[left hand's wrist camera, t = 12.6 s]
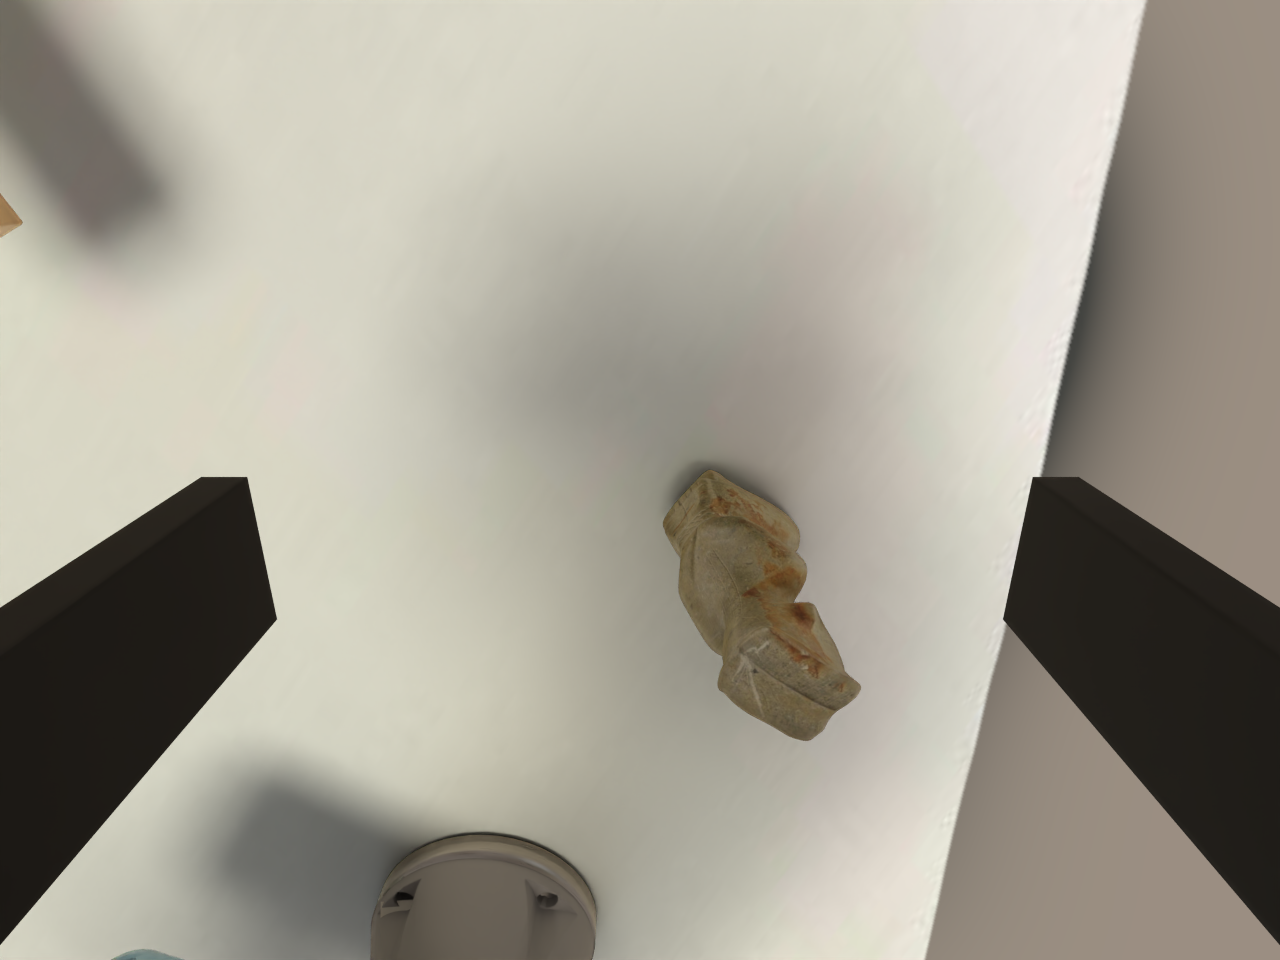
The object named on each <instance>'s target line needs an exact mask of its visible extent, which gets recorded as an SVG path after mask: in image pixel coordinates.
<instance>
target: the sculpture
mask: <svg viewBox="0 0 1280 960" xmlns="http://www.w3.org/2000/svg"><path fill="white" fill-rule="evenodd" d="M663 527H664V529H665V533H666V535H667V537H668V538H669V540H670V542H671V544H672V546H673V548H674V549H675V551H676V552H677V554H678V555H679V557H680V558H681V561H680V571H679V595H680V598H681V600H682V602H683V604H684V606H685V608H686V610H687V611H688V613H689V615H690V617H691V619H692V620H693V622H694V624H695V625H696V627H697V629H698V631H699V632H700V634H701V636H702V637H703V639H704V640H705V642H706V643H707V644H708V646H709V647H710V648H711V649H712V650H713V651H714V652H716V653H717V654H719V655H721V656H723V667H722V669H721V671H720V674H719V678H718V688H719V690H720V691H722V692H724V693H725V694H726V695H727V696H728V698H729V699H730V700H731V701H732V702H733V703H734V704H736V705H737V706H738V707H740V708H741V709H742V710H744V711H745V712H747V713H748V714H750V715H752V716H754V717H756V718H758V719H759V720H761V721H763V722H765V723H767V724H769V725H771V726H773V727H774V728H776V729H778V730H779V731H781V732H783V733H784V734H786V735H788V736H789V737H792V738H795V739H799V740H803V741H809V740H811V739H812V738H814V737H815V736H816V735H818V734H819V733H820V732H822V731H823V730H824V728H825V726H826V724H827V722H828V720H829V719H830V718H831V716H832V715H833V714H834V713H835V712H836V711H838V710H839V709H841V708H843V707H844V706H846V705H847V704H848V703H850V702H851V701H852V700H853V699H854V698H856V696H857V695H858V694H859V692H860V690H861V686H860V684H859V683H858V682H856V681H855V680H854V679H853V678H851V677H850V676H849V675H848V674H847V673H846V672H845V670H844V666H843V663H842V660H841V657H840V654H839V652H838V650H837V647H836V645H835V643H834V641H833V639H832V638H831V636H830V634H829V633H828V631H827V630H826V628H825V626H824V624H823V622H822V620H821V618H820V616H819V614H818V611H817V609H816V607H815V605H813V604H812V603H809V602H801V603H794V600H795V598H796V597H797V595H798V594H799V592H800V590H801V589H802V587H803V585H804V583H805V580H806V576H807V567H806V563H805V562H804V560H803V559H802V558H801V557H800V556H799V555H798V554H797V553H796V551H797V549H798V547H799V542H800V533H799V530H798V528H797V526H796V525H795V523H794V522H793V521H792V519H791V518H790V517H789V516H787V515H786V514H785V513H784V512H783V511H781V510H780V509H779V508H777V507H776V506H774V505H773V504H771V503H769V502H767V501H766V500H764V499H762V498H760V497H758V496H756V495H755V494H752V493H750V492H748V491H746V490H744V489H742V488H740V487H738V486H737V485H735V484H733V483H732V482H730V481H729V480H727V479H726V478H724V477H723V476H722V475H721V474H719V473H718V472H715V471H712V470H707V471H706V472H704V473H703V474H702V475H701V476H700V477H699V478H698V479H697V480H696V481H695V482H694V483H693V484H692V485H691V486H690V487H689V488H688V490H687V491H686V492H685V493H684V494H683V495H682V496H681V497H680V498H679V499H678V501H677V502H676V503H675V504H674V505H673V507H672V508H671V509H670V511H669V512H668V514H667V516H666V517H665V519H664V521H663Z"/></svg>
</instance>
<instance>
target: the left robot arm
mask: <svg viewBox="0 0 1280 960" xmlns="http://www.w3.org/2000/svg"><path fill="white" fill-rule="evenodd" d="M276 620H277V617H276V612H275V608H274V603H273V598H272V593H271V589H270V584H269V579H268V574H267V570H266V565H265V560H264V555H263V550H262V546H261V541H260V536H259V531H258V527H257V522H256V517H255V512H254V507H253V503H252V498H251V493H250V488H249V484H248V479H247V477H201V478H199V479H198V480H196V481H195V482H193V483H191V484H190V485H188V486H187V487H185V488H184V489H182V490H181V491H179V492H178V493H176V494H175V495H173V496H171V497H170V498H168V499H167V500H165V501H164V502H162V503H161V504H159V505H158V506H156V507H155V508H153V509H151V510H150V511H148V512H147V513H145V514H144V515H142V516H141V517H139V518H138V519H136V520H135V521H133V522H131V523H130V524H128V525H127V526H125V527H124V528H122V529H121V530H119V531H118V532H116V533H115V534H113V535H111V536H110V537H108V538H107V539H105V540H104V541H102V542H101V543H99V544H98V545H96V546H94V547H93V548H91V549H90V550H88V551H87V552H85V553H84V554H82V555H81V556H79V557H78V558H76V559H74V560H73V561H71V562H70V563H68V564H67V565H65V566H64V567H62V568H61V569H59V570H58V571H56V572H54V573H53V574H51V575H50V576H48V577H47V578H45V579H44V580H42V581H41V582H39V583H38V584H36V585H34V586H33V587H31V588H30V589H28V590H27V591H25V592H24V593H22V594H21V595H19V596H18V597H16V598H14V599H13V600H11V601H10V602H8V603H7V604H5V605H4V606H2V607H1V608H0V945H1V943H2V942H3V941H4V940H5V939H6V938H7V936H8V935H9V934H10V933H11V932H12V930H13V929H14V928H15V927H16V926H17V925H18V923H19V922H20V921H21V920H22V919H23V918H24V916H25V915H26V914H27V913H28V912H29V910H30V909H31V908H32V907H33V906H34V905H35V903H36V902H37V901H38V900H39V899H40V898H41V896H42V895H43V894H44V893H45V892H46V890H47V889H48V888H49V887H50V886H51V885H52V883H53V882H54V881H55V880H56V879H57V878H58V876H59V875H60V874H61V873H62V872H63V870H64V869H65V868H66V867H67V866H68V865H69V863H70V862H71V861H72V860H73V859H74V858H75V856H76V855H77V854H78V853H79V852H80V850H81V849H82V848H83V847H84V846H85V845H86V843H87V842H88V841H89V840H90V839H91V838H92V836H93V835H94V834H95V833H96V832H97V830H98V829H99V828H100V827H101V826H102V825H103V823H104V822H105V821H106V820H107V819H108V818H109V816H110V815H111V814H112V813H113V812H114V810H115V809H116V808H117V807H118V806H119V805H120V803H121V802H122V801H123V800H124V799H125V798H126V796H127V795H128V794H129V793H130V792H131V790H132V789H133V788H134V787H135V786H136V785H137V783H138V782H139V781H140V780H141V779H142V778H143V776H144V775H145V774H146V773H147V772H148V770H149V769H150V768H151V767H152V766H153V765H154V763H155V762H156V761H157V760H158V759H159V758H160V756H161V755H162V754H163V753H164V752H165V750H166V749H167V748H168V747H169V746H170V745H171V743H172V742H173V741H174V740H175V739H176V738H177V736H178V735H179V734H180V733H181V732H182V730H183V729H184V728H185V727H186V726H187V725H188V723H189V722H190V721H191V720H192V719H193V718H194V716H195V715H196V714H197V713H198V712H199V710H200V709H201V708H202V707H203V706H204V705H205V703H206V702H207V701H208V700H209V699H210V698H211V696H212V695H213V694H214V693H215V692H216V690H217V689H218V688H219V687H220V686H221V685H222V683H223V682H224V681H225V680H226V679H227V678H228V676H229V675H230V674H231V673H232V672H233V670H234V669H235V668H236V667H237V666H238V665H239V663H240V662H241V661H242V660H243V659H244V658H245V656H246V655H247V654H248V653H249V652H250V650H251V649H252V648H253V647H254V646H255V645H256V643H257V642H258V641H259V640H260V639H261V638H262V636H263V635H264V634H265V633H266V632H267V630H268V629H269V628H270V627H271V626H272V625H273V623H274V622H275V621H276ZM1003 620H1004V621H1005V622H1006V623H1007V625H1008V626H1009V627H1010V628H1011V629H1012V630H1013V632H1014V633H1015V634H1016V635H1017V636H1018V638H1019V639H1020V640H1021V641H1022V642H1023V643H1024V645H1025V646H1026V647H1027V648H1028V649H1029V650H1030V652H1031V653H1032V654H1033V655H1034V656H1035V658H1036V659H1037V660H1038V661H1039V662H1040V663H1041V664H1042V666H1043V667H1044V668H1045V669H1046V670H1047V672H1048V673H1049V674H1050V675H1051V676H1052V678H1053V679H1054V680H1055V681H1056V682H1057V683H1058V685H1059V686H1060V687H1061V688H1062V689H1063V690H1064V692H1065V693H1066V694H1067V695H1068V696H1069V697H1070V699H1071V700H1072V701H1073V702H1074V703H1075V704H1076V706H1077V707H1078V708H1079V709H1080V710H1081V712H1082V713H1083V714H1084V715H1085V716H1086V718H1087V719H1088V720H1089V721H1090V722H1091V723H1092V725H1093V726H1094V727H1095V728H1096V729H1097V730H1098V732H1099V733H1100V734H1101V735H1102V736H1103V738H1104V739H1105V740H1106V741H1107V742H1108V743H1109V745H1110V746H1111V747H1112V748H1113V749H1114V750H1115V752H1116V753H1117V754H1118V755H1119V756H1120V757H1121V759H1122V760H1123V761H1124V762H1125V763H1126V765H1127V766H1128V767H1129V768H1130V769H1131V770H1132V772H1133V773H1134V774H1135V775H1136V776H1137V778H1138V779H1139V780H1140V781H1141V782H1142V783H1143V785H1144V786H1145V787H1146V788H1147V789H1148V790H1149V792H1150V793H1151V794H1152V795H1153V796H1154V797H1155V799H1156V800H1157V801H1158V802H1159V803H1160V805H1161V806H1162V807H1163V808H1164V809H1165V810H1166V812H1167V813H1168V814H1169V815H1170V816H1171V818H1172V819H1173V820H1174V821H1175V822H1176V823H1177V825H1178V826H1179V827H1180V828H1181V829H1182V830H1183V832H1184V833H1185V834H1186V835H1187V836H1188V838H1189V839H1190V840H1191V841H1192V842H1193V843H1194V845H1195V846H1196V847H1197V848H1198V849H1199V850H1200V852H1201V853H1202V854H1203V855H1204V856H1205V858H1206V859H1207V860H1208V861H1209V862H1210V863H1211V865H1212V866H1213V867H1214V868H1215V869H1216V870H1217V872H1218V873H1219V874H1220V875H1221V876H1222V878H1223V879H1224V880H1225V881H1226V882H1227V883H1228V885H1229V886H1230V887H1231V888H1232V889H1233V890H1234V892H1235V893H1236V894H1237V895H1238V896H1239V898H1240V899H1241V900H1242V901H1243V902H1244V903H1245V905H1246V906H1247V907H1248V908H1249V909H1250V910H1251V912H1252V913H1253V914H1254V915H1255V916H1256V918H1257V919H1258V920H1259V921H1260V922H1261V923H1262V925H1263V926H1264V927H1265V928H1266V929H1267V930H1268V932H1269V933H1270V934H1271V935H1272V936H1273V938H1274V939H1275V940H1276V941H1277V942H1278V943H1279V945H1280V608H1279V607H1278V606H1276V605H1275V604H1273V603H1272V602H1270V601H1269V600H1267V599H1266V598H1264V597H1262V596H1261V595H1259V594H1258V593H1256V592H1255V591H1253V590H1252V589H1250V588H1249V587H1247V586H1246V585H1244V584H1242V583H1241V582H1239V581H1238V580H1236V579H1235V578H1233V577H1232V576H1230V575H1228V574H1227V573H1226V572H1224V571H1222V570H1221V569H1219V568H1218V567H1216V566H1215V565H1213V564H1212V563H1210V562H1209V561H1207V560H1206V559H1204V558H1202V557H1201V556H1199V555H1198V554H1196V553H1195V552H1193V551H1192V550H1190V549H1189V548H1187V547H1186V546H1184V545H1182V544H1181V543H1179V542H1178V541H1176V540H1175V539H1173V538H1172V537H1170V536H1169V535H1167V534H1165V533H1164V532H1162V531H1161V530H1159V529H1158V528H1156V527H1155V526H1153V525H1152V524H1150V523H1149V522H1147V521H1145V520H1144V519H1142V518H1141V517H1139V516H1138V515H1136V514H1135V513H1133V512H1132V511H1130V510H1129V509H1127V508H1125V507H1124V506H1122V505H1121V504H1119V503H1118V502H1116V501H1115V500H1113V499H1112V498H1110V497H1108V496H1107V495H1105V494H1104V493H1102V492H1101V491H1099V490H1098V489H1096V488H1095V487H1093V486H1092V485H1090V484H1089V483H1087V482H1085V481H1084V480H1082V479H1081V478H1079V477H1033V479H1032V484H1031V488H1030V493H1029V498H1028V503H1027V507H1026V512H1025V517H1024V522H1023V527H1022V531H1021V536H1020V541H1019V546H1018V550H1017V555H1016V560H1015V565H1014V570H1013V574H1012V579H1011V584H1010V589H1009V593H1008V598H1007V603H1006V608H1005V612H1004V617H1003ZM595 934H596V908H595V904H594V900H593V898H592V895H591V893H590V891H589V889H588V887H587V885H586V884H585V882H584V881H583V879H582V878H581V877H580V876H579V875H578V874H577V872H576V871H575V870H574V869H572V868H571V867H570V866H569V865H568V864H567V863H565V862H564V861H563V860H562V859H560V858H559V857H557V856H555V855H554V854H552V853H550V852H548V851H547V850H545V849H543V848H540V847H538V846H536V845H533V844H530V843H527V842H524V841H521V840H517V839H513V838H508V837H502V836H494V835H466V836H458V837H452V838H447V839H444V840H440V841H437V842H434V843H431V844H429V845H426V846H424V847H422V848H420V849H418V850H416V851H415V852H413V853H411V854H410V855H409V856H407V857H406V858H405V859H403V860H402V861H401V862H400V863H399V864H398V865H397V866H396V867H395V868H394V869H393V871H392V872H391V873H390V875H389V876H388V878H387V880H386V882H385V884H384V886H383V889H382V891H381V894H380V897H379V899H378V902H377V905H376V908H375V910H374V914H373V917H372V922H371V960H592V958H593V954H594V949H595ZM112 960H183V959H180V958H177V957H173V956H170V955H167V954H164V953H161V952H158V951H155V950H149V949H141V950H134V951H130V952H126V953H124V954H121V955H119V956H117V957H115V958H114V959H112Z"/></svg>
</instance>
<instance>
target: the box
mask: <svg viewBox="0 0 1280 960" xmlns="http://www.w3.org/2000/svg"><path fill="white" fill-rule="evenodd" d="M22 223H23V222H22V220H21V219H20V218H19V217H18V215H17V214H16V213H15V211H14V210H13V209H12V208H11V206H10V205H9V204H8V203H7V201H6V200H5V199H4V197H3V196H2V195H1V194H0V238H1V237H2V236H4V235H5V234H7V233H9V232H10V231H12V230H13V229H15V228H17V227H18V226H20V225H21V224H22Z"/></svg>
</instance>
